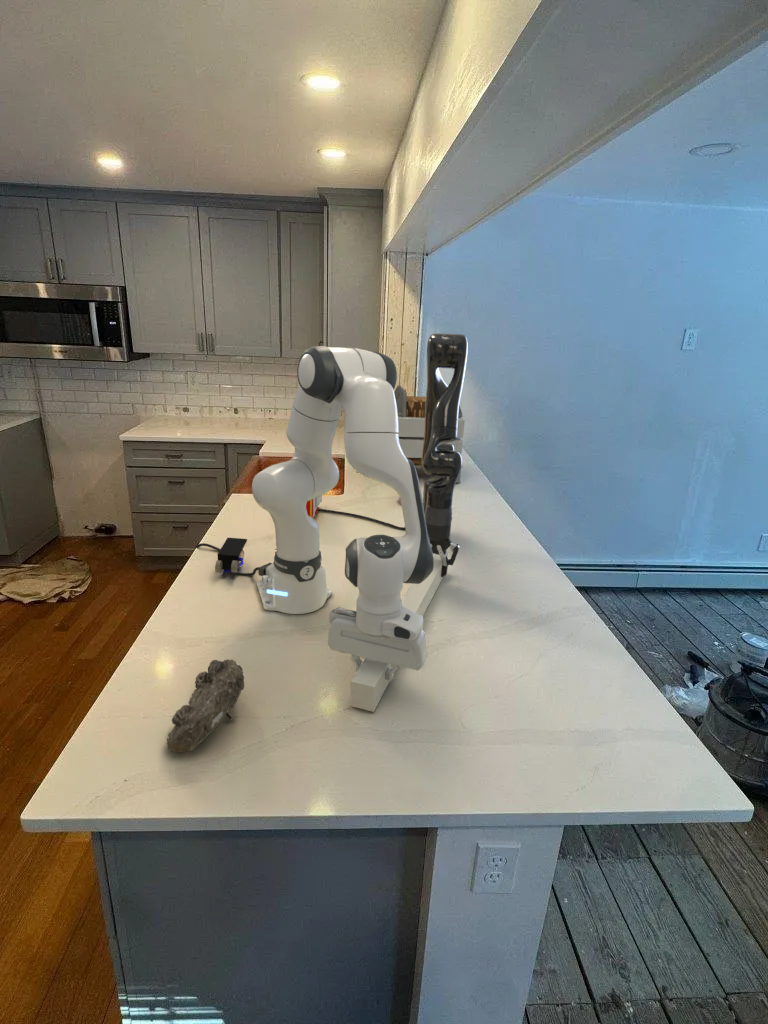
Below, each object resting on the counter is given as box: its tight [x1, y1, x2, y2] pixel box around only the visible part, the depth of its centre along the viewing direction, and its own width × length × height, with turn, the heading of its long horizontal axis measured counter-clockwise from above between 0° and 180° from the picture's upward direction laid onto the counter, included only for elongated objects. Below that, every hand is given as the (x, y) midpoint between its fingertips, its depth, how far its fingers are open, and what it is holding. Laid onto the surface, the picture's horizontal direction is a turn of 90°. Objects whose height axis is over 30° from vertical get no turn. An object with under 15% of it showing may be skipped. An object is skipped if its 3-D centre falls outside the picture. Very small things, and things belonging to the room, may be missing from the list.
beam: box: [349, 552, 449, 713], centre depth 141 cm, size 68×5×6 cm, turn 162°
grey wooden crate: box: [394, 384, 465, 484], centre depth 268 cm, size 34×33×41 cm
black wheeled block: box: [214, 537, 248, 578], centre depth 166 cm, size 7×8×15 cm
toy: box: [306, 496, 323, 519], centre depth 209 cm, size 12×13×30 cm
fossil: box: [166, 658, 245, 754], centre depth 106 cm, size 22×10×15 cm
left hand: (374, 674), depth 117 cm, fingers closed on beam, 5 cm apart
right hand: (433, 574), depth 165 cm, fingers closed on beam, 5 cm apart
